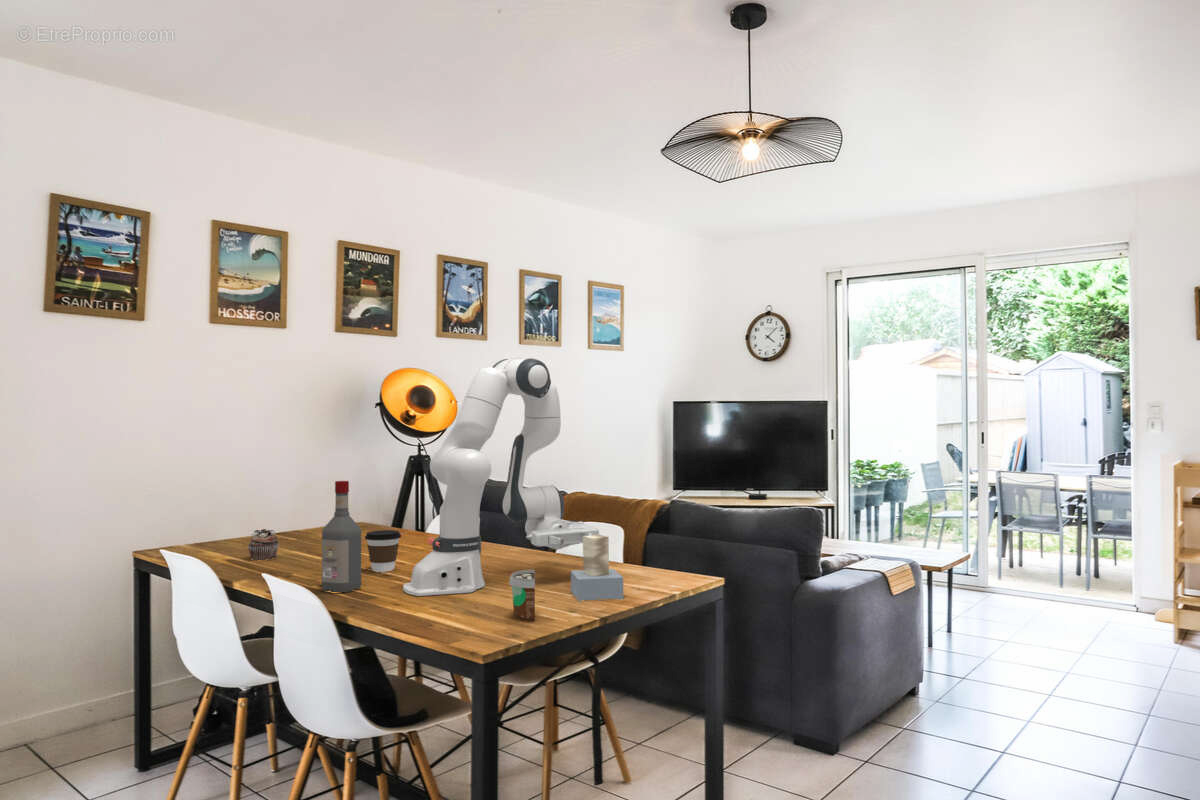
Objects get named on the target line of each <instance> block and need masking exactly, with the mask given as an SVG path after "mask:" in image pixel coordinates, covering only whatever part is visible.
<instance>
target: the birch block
mask: <svg viewBox="0 0 1200 800" xmlns="http://www.w3.org/2000/svg"><path fill="white" fill-rule="evenodd" d="M609 542H610V541H609V536H606V535H603V534H602V535H601V534H599V535H590V536H583V543H582V556H583V557H582V563H583V564H582V565H583V566H582V570H583V574H586V575H590V576H593V577H594V576H601V575H608V574H609V569H610V561H609V560H610V557H609V555H610V553H609V552H610V551H609V549H610V548H609V547H610V545H609V544H610V543H609Z"/></svg>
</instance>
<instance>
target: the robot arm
mask: <svg viewBox="0 0 1200 800" xmlns="http://www.w3.org/2000/svg"><path fill="white" fill-rule="evenodd" d="M509 394H511V395H515V396H520V397H521V398H522V401H523V403H524V404H523V405H524V411H523V412H524V413H523V414H524V415H523V416H524V422H523V426H522V429H521V431H520V433H519V434H518V435H516V436H515V437H514V441H513V443H512V447H511V453H510V459H509V467H508V474H507V480H506V485H505V489H504V493H503V497H502V505H501V506H502V511H503V514H504V516H505V517H506V518H507V519H509V521H511V522H513V523H519V522H524V521H525V525H524V530H525V533H526V536H525V538H526V539H527V540H530V543H531V544H532V545H533V546H536V547H547V548H550V549H553V550H562V549H563V548H567V547H569V546H574V545H578V544H583V536H590V535H600V530H599V528H598V527H595V526H592V525H589V524H585V523H584V521H580V520H579V521H578V520H565V519H563V517H564V514H565V501H564V500H565V499H564V496H563V494H562V493H561V491H560V490H559V489H558V487H556V486H554V485H553V484H552V485H539V486H531V487H524V486H523V485H524V479H525V471H526V467H527V465H526V464H527V462H528V459H529V458H530V457H531V456H532V455H533V454H534V453H536V452H538V451H539V450H542V449H544V448H547V447H548V446H549V445H551V444H552V443H554V442H555V441H556V440H557V438H558V436H559V435H560V433H561V421H562V420H561V419H562V418H561V404H560V397H559V393H558V388H557V386H556V385H555V384H554V383H553V382H552V380H551V375H550V371H549V368H548V367H547V365H546V363H544V362H543V361H541V360H540V359H537V358H523V357H514V358H504V359H501V360H499V361H497V362H496V363H495V364H493V365H492V367H491V366H487V367H483V368H481V369H478V371H477V372H476V374H475V376H474V378H473V380H472V381H471V383H470V385H469V387H468V389H467V391H466V394H465V396H464V399H463V402H462V405H461V407H460V409H459V412H458V415H457V417H456V419H455V422H454V423H453V426H452V428H451V429H450V431H449V432H448V434H447V436H446V438H445V439H444V440H443V443H442V444H441V446H440V448H439V449H438V450H437V451H436V452H435V453H434V454H433V455H432V457H431V459H430V461H429V470H430V473H431V475H432V477H434V478H435V479H436V480H437V481H438V482H439V483H441V484H443V485H446V490H445V495H444V499H443V502H442V504H441V506H440V508H439V536H438V537H436V538H434V537H429V538H428V539H427V543H428V545H430V546H432V551H431V552H430V553H428V554H426V556H425V557H424V558H422V559H421V560H420V561H418V562H417V563H416V564H415V565H414V567H413V569H412V572H411V580H410V582H405V583H404V584H403V585H402V590H403V592H405V593H406V594H409V595H410V596H411V595H412V596H416V597H419V596H420V597H421V596H423V597H424V596H436V595H437V596H439V595H451V594H466V593H474V592H475V591H476V590H478V589H481V588H484V587H485V586H486V583H485V580H484V576H483V570H482V564H481V563H482V561H481V554H482V538H481V535H480V508H481V502H482V498H483V493H484V489H485V487H486V486H485V485H486V483H487V482H488V480H490V476H491V475H492V464H491V461H490V459H489V458H488V457H487V456H486V455H485V454H483V452H481V450H482V448H483V447H484V445H485V444H486V442H487V441H488V440H489V439H491V437H492V435H493V433H494V431H495V428H496V425H497V422H498V420H499V418H500V415H501V412H502V409H503V406H504V402H505V400H506V398H507V396H509Z"/></svg>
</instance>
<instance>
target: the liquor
mask: <svg viewBox="0 0 1200 800" xmlns="http://www.w3.org/2000/svg"><path fill="white" fill-rule="evenodd" d="M349 483H350V481H349V480H336V481H335V482H334V492H335V510H334V514H333V516H332V518H331V519H330V520H329V522H328V523H326V525H325V526H324V527H323V529H322V531H321V588H322V591H323V592H324V591H331V592H348V591H351V592H353V591H352V590H355V589H358V588H360V589H361V587H362V529H361V527H360V526H359V525H358V524H357V522H355V519H353V518H352V517H351V516H350V512H349V491H350V485H349ZM358 590H359V589H358ZM355 591H356V590H355ZM348 593H349V592H348Z"/></svg>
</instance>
